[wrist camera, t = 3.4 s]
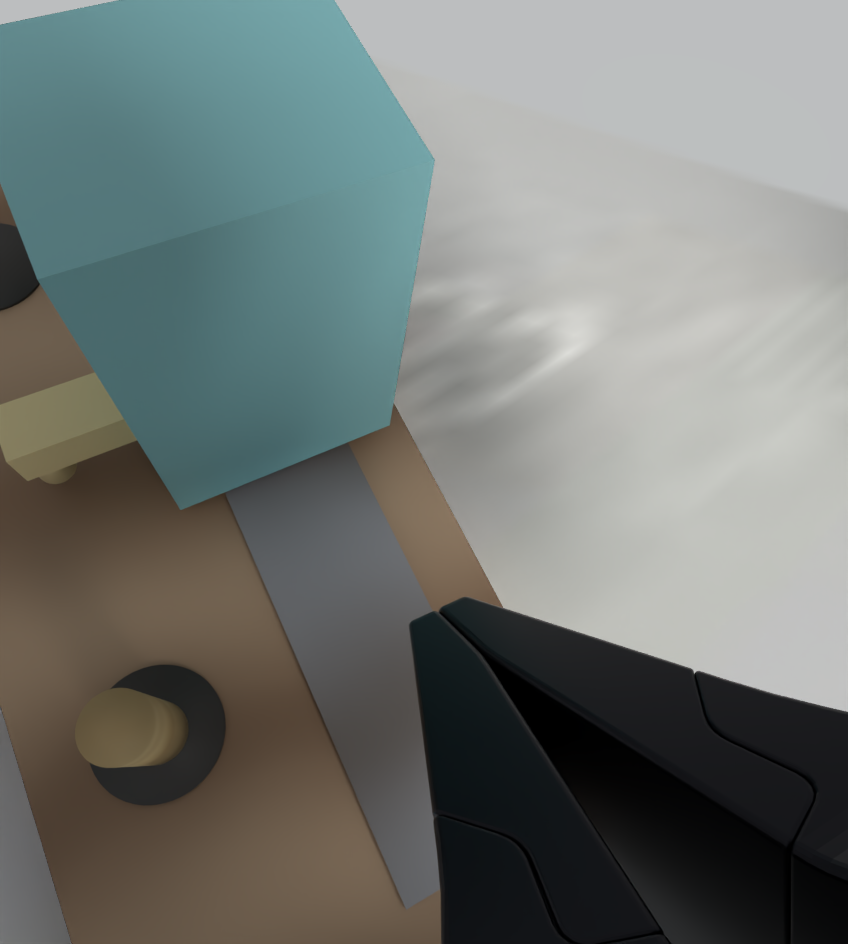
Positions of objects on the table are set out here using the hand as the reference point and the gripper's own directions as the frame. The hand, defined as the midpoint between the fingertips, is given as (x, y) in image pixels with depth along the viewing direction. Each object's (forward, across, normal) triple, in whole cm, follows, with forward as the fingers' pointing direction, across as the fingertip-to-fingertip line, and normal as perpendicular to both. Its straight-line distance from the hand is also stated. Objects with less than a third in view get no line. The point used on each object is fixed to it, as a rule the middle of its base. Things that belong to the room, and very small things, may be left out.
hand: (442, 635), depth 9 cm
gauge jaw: (+9, +2, -1) cm, 9 cm away
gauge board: (+10, +2, +1) cm, 10 cm away
